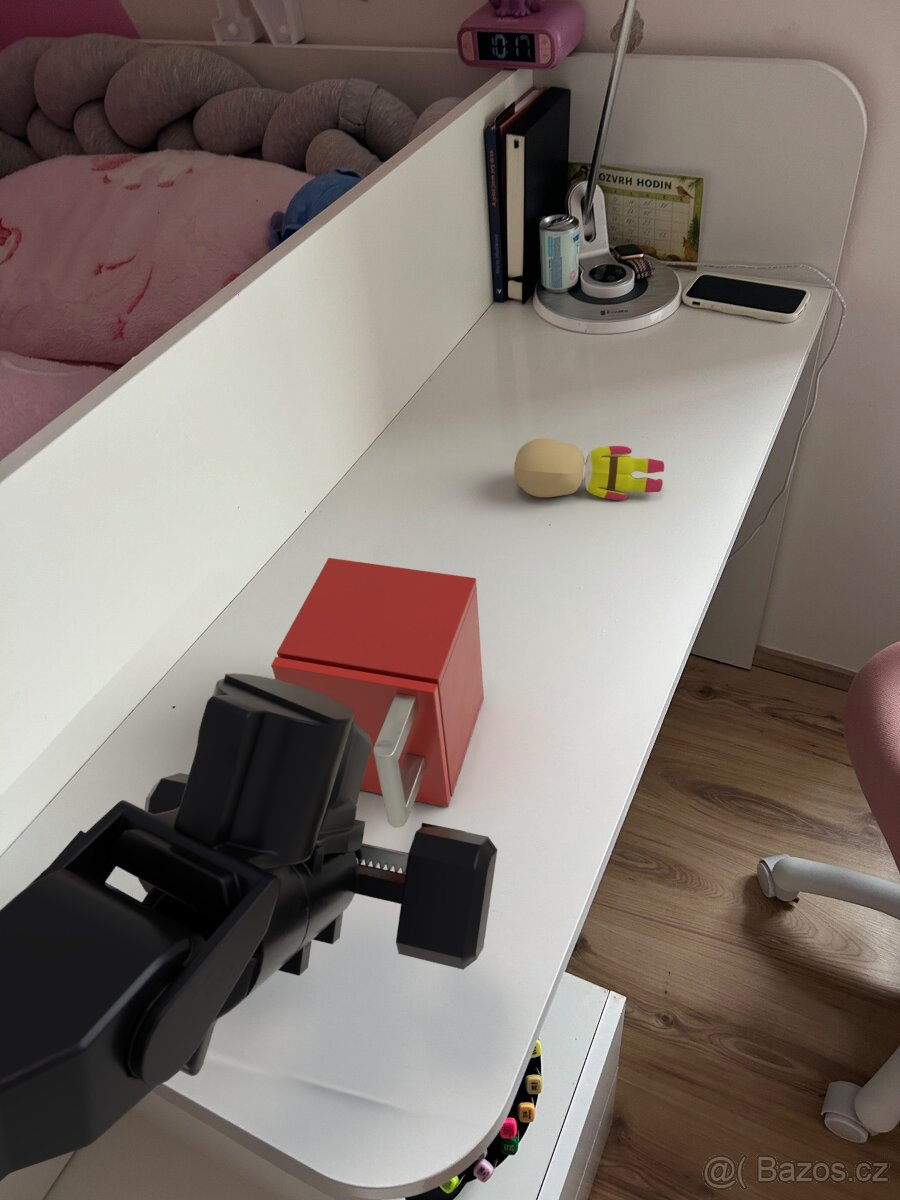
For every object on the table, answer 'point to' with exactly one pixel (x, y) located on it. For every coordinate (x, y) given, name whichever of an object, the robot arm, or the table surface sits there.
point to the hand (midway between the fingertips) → (364, 829)
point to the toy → (582, 470)
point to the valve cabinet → (398, 636)
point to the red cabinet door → (387, 731)
